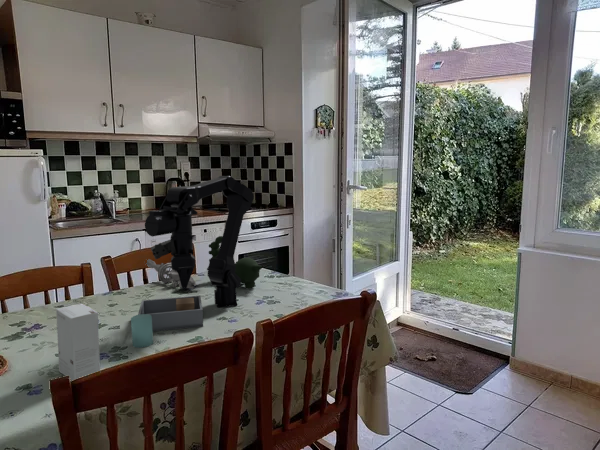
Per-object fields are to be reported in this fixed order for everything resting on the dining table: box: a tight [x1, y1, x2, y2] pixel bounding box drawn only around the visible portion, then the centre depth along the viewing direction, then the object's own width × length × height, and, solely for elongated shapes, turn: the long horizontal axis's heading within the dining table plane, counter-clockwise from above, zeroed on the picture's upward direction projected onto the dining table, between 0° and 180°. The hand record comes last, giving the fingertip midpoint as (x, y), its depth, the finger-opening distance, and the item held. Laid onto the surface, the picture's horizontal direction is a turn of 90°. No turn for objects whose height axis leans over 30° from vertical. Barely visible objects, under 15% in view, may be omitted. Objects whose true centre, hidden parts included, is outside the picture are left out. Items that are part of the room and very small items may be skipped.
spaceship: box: [145, 258, 197, 290], centre depth 165 cm, size 8×35×8 cm
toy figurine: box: [208, 235, 263, 290], centre depth 161 cm, size 10×19×26 cm
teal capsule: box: [130, 314, 154, 349], centre depth 111 cm, size 5×5×7 cm
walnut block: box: [176, 298, 194, 311], centre depth 127 cm, size 5×5×5 cm
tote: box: [137, 295, 204, 332], centre depth 126 cm, size 17×13×5 cm
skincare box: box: [55, 302, 101, 381], centre depth 94 cm, size 8×6×15 cm
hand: (184, 284), depth 126 cm, fingers open, 9 cm apart
